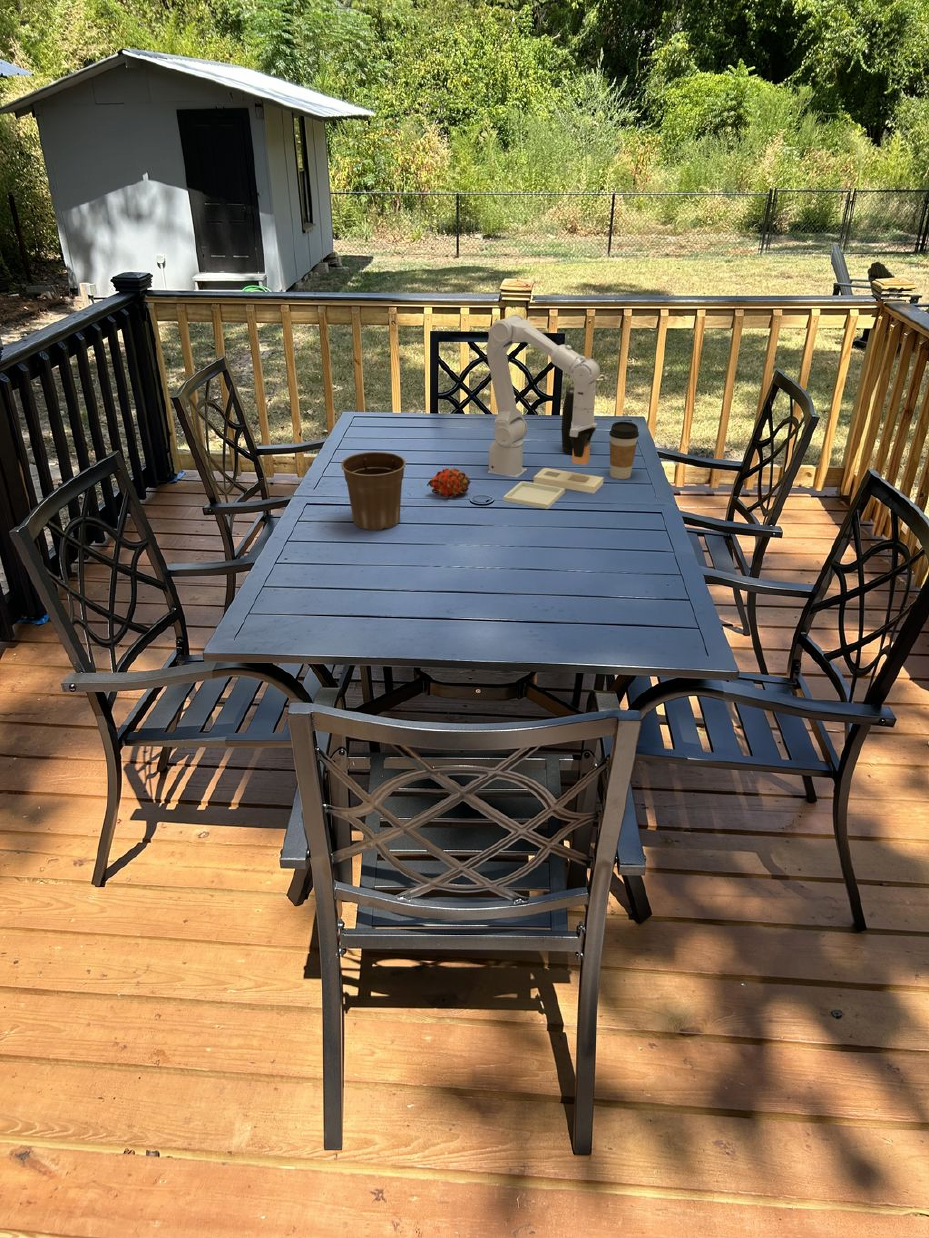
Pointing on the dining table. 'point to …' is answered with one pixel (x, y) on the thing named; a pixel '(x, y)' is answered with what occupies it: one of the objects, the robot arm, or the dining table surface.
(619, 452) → the coffee cup
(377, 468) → the plant pot
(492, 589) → the dining table surface
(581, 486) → the power strip
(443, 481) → the red lumpy ovoid
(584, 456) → the plug
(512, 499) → the tray
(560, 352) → the robot arm
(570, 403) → the portable speaker
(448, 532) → the dining table surface
